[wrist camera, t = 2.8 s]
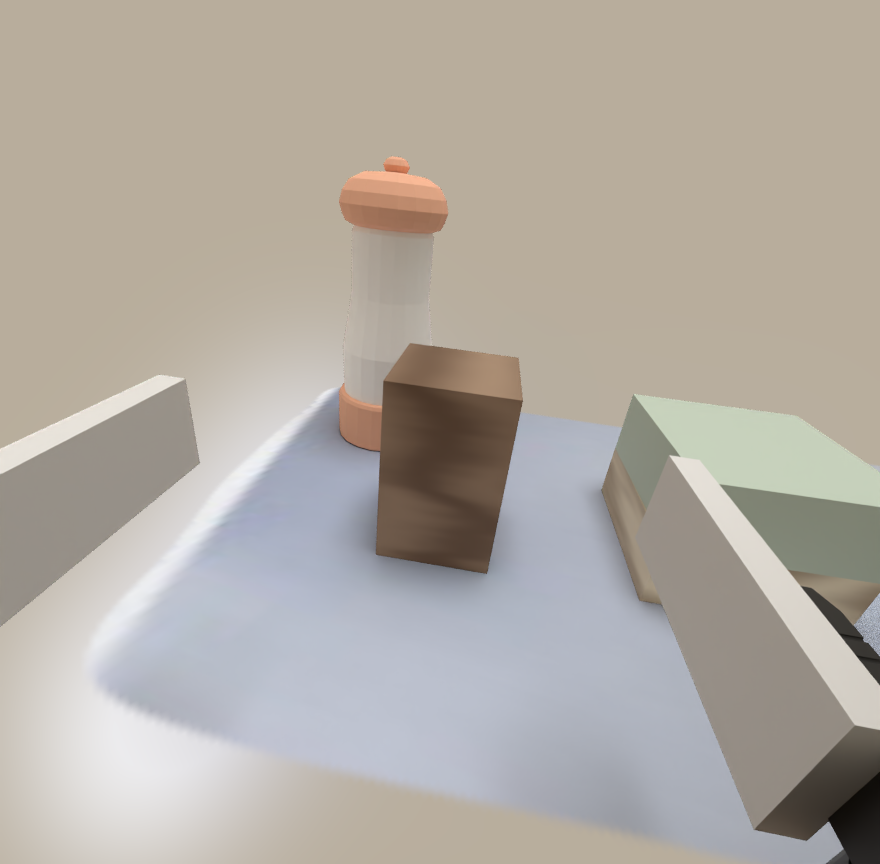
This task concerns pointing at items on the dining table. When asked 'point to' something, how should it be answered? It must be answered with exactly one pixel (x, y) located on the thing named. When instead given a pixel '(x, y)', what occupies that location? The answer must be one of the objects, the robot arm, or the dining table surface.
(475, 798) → the dining table surface
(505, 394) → the walnut block
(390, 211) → the pepper shaker
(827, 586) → the tower bottom block
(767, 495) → the tower top block
